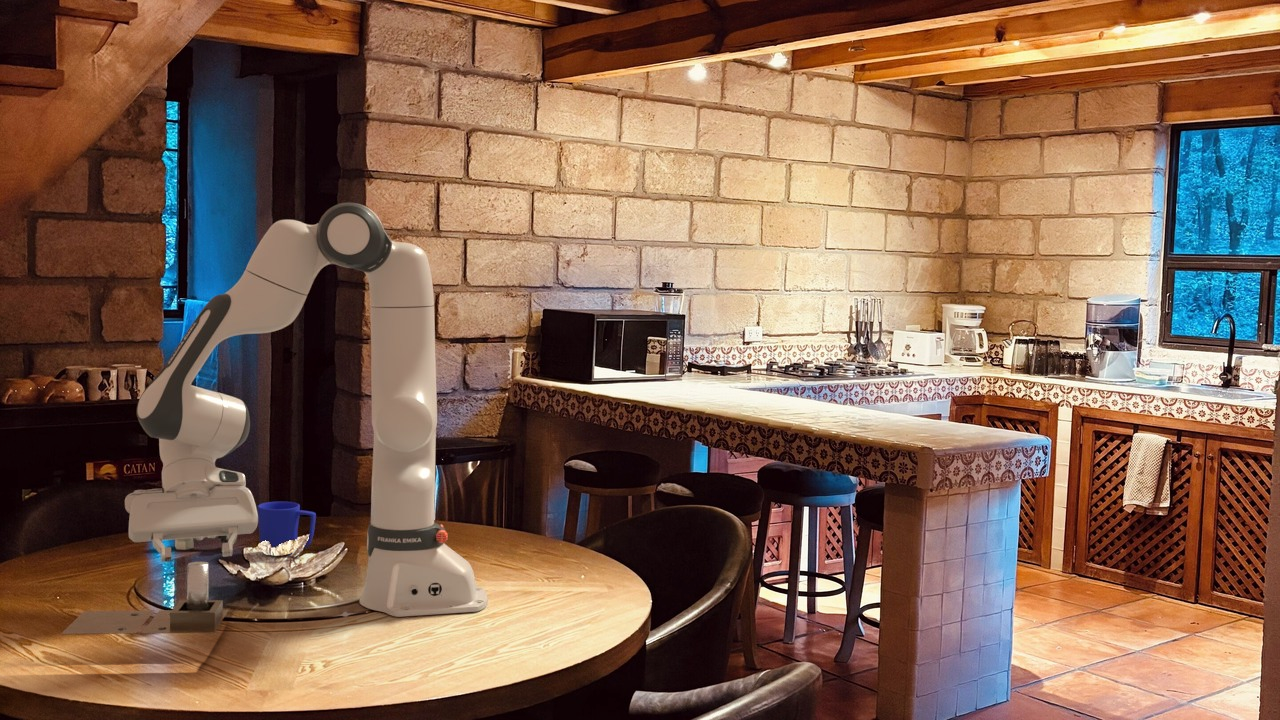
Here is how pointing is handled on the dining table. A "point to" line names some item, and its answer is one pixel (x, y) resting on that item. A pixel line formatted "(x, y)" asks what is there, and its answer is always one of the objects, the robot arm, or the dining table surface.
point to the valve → (189, 542)
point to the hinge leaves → (161, 623)
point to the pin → (197, 586)
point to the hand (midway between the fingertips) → (197, 557)
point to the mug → (282, 522)
